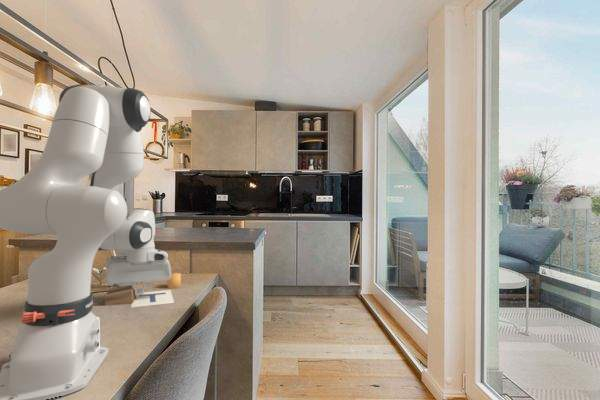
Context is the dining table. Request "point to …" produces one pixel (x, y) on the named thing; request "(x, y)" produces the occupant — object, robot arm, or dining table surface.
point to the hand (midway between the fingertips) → (139, 294)
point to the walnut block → (120, 295)
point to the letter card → (153, 298)
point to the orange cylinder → (174, 281)
